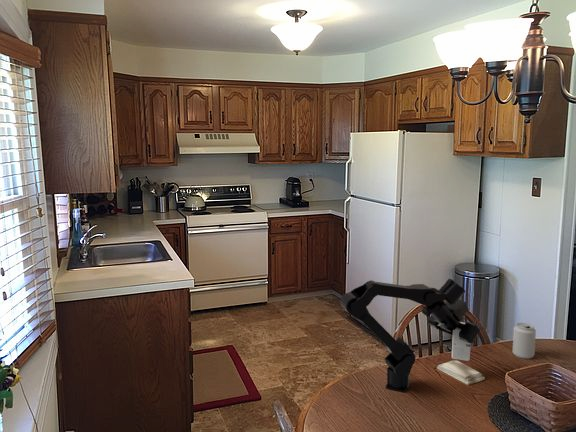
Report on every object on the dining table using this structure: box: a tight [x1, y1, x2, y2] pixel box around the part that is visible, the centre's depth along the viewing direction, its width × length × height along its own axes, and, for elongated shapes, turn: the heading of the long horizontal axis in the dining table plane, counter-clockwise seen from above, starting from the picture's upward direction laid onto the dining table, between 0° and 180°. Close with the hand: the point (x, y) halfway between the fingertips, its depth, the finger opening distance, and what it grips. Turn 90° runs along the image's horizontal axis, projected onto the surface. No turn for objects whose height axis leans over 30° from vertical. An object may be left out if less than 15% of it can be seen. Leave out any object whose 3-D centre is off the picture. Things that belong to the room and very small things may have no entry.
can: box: [512, 322, 537, 360], centre depth 182 cm, size 8×8×12 cm
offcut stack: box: [436, 359, 486, 386], centre depth 169 cm, size 8×14×2 cm, turn 27°
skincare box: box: [451, 321, 472, 362], centre depth 167 cm, size 6×4×12 cm
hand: (464, 338), depth 168 cm, fingers closed on skincare box, 7 cm apart
